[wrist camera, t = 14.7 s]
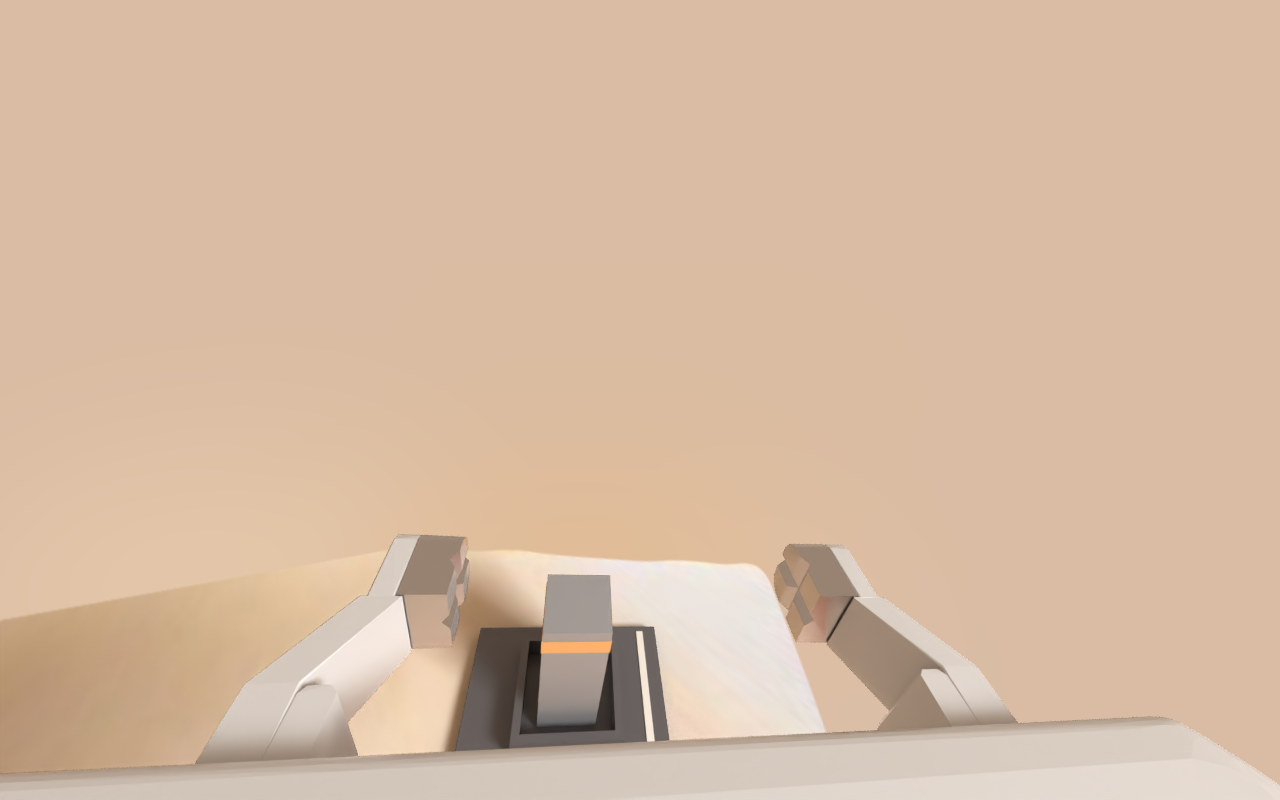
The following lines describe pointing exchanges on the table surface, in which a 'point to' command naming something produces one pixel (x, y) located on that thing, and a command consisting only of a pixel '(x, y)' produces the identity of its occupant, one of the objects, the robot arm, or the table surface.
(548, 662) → the plug
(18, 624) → the table surface
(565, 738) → the socket
